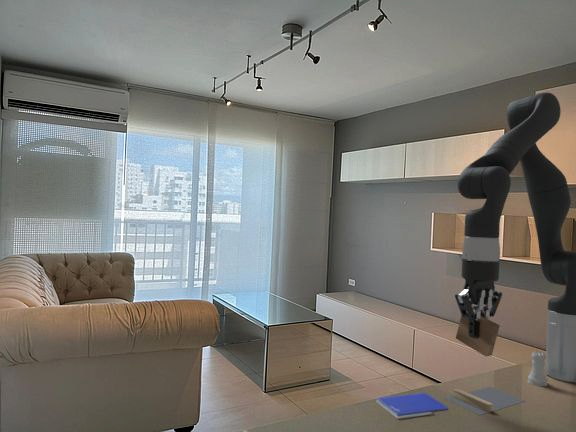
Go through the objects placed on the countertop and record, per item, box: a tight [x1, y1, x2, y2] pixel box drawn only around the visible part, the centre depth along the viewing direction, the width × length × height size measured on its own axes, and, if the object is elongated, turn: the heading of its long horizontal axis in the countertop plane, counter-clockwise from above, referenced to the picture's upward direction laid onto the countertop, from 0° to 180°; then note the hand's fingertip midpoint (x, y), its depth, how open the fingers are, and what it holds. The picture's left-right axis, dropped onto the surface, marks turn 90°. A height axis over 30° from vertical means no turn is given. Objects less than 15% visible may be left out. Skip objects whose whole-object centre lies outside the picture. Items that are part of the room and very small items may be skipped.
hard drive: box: [375, 392, 449, 420], centre depth 93 cm, size 2×8×12 cm
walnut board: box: [455, 310, 501, 357], centre depth 96 cm, size 2×8×7 cm, turn 30°
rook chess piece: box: [527, 350, 548, 387], centre depth 109 cm, size 4×4×8 cm
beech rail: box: [452, 388, 494, 413], centre depth 95 cm, size 1×9×2 cm, turn 30°
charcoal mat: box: [444, 386, 526, 416], centre depth 97 cm, size 16×9×1 cm, turn 120°
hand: (477, 336), depth 96 cm, fingers closed on walnut board, 1 cm apart
